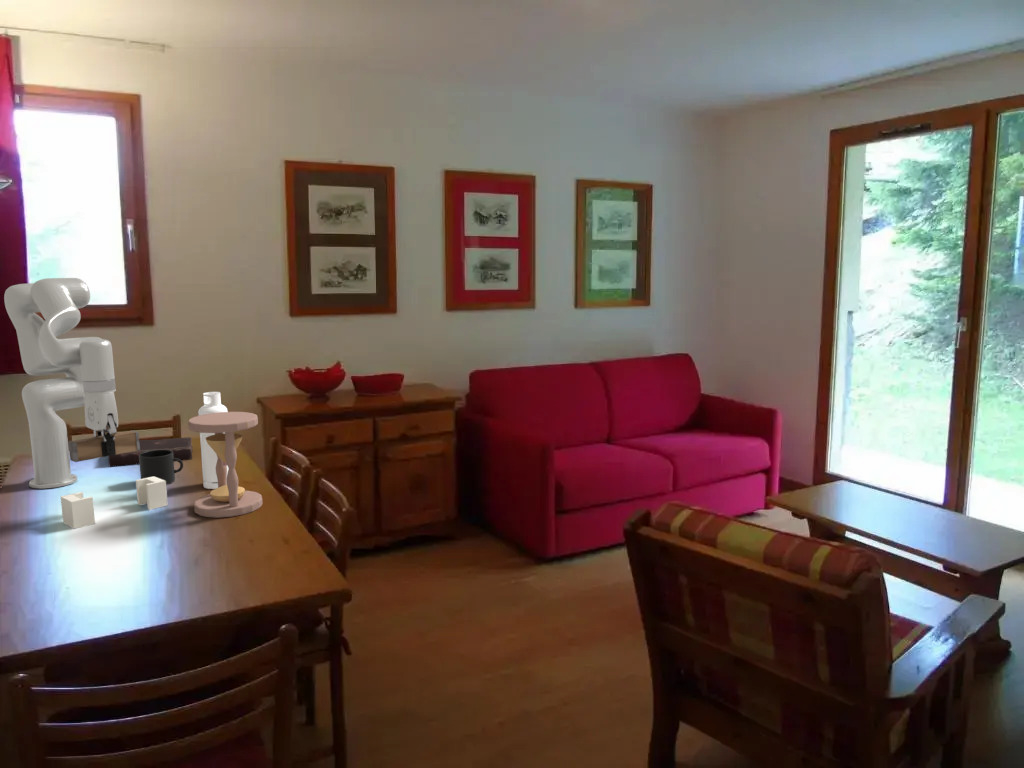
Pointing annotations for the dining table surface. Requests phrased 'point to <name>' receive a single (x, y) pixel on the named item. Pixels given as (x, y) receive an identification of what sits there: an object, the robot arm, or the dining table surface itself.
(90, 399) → the robot arm
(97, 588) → the dining table surface
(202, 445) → the bottle
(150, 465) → the mug
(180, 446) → the diary
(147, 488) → the white u-channel cradle
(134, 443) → the rail
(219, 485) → the hourglass
